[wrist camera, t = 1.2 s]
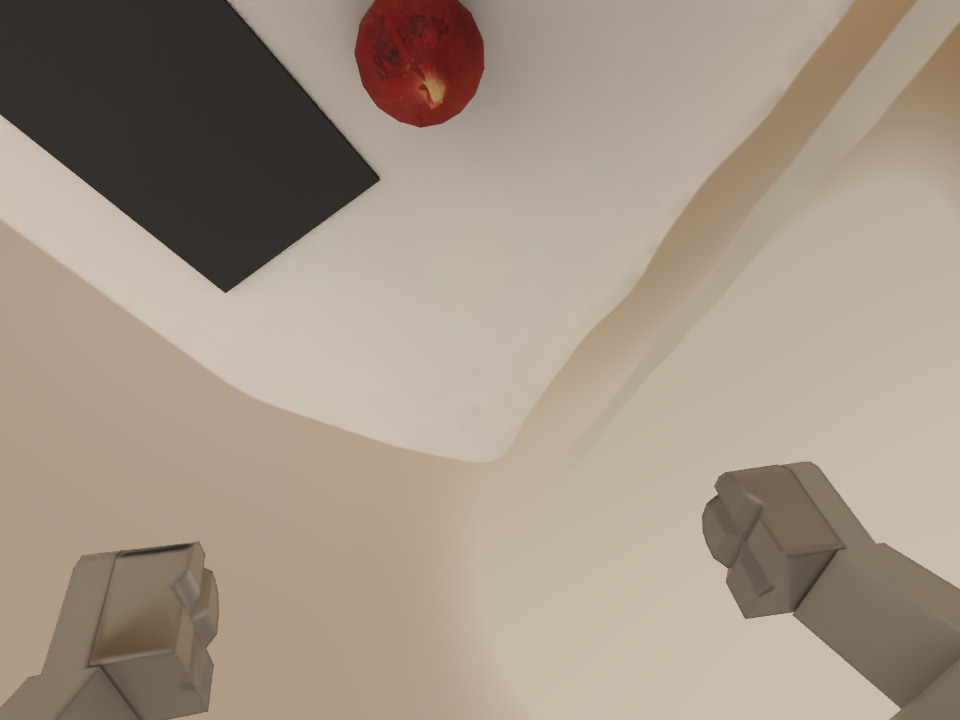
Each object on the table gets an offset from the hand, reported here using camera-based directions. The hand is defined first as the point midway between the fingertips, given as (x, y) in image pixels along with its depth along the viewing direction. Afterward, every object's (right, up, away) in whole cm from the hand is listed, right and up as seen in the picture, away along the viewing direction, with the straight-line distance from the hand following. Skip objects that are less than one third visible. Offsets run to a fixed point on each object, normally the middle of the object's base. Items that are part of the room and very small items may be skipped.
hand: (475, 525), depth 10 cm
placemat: (-17, +16, +22) cm, 32 cm away
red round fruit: (-3, +19, +23) cm, 30 cm away
